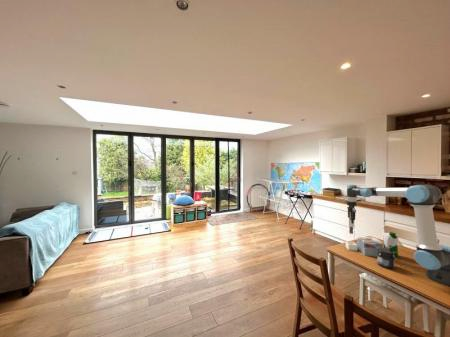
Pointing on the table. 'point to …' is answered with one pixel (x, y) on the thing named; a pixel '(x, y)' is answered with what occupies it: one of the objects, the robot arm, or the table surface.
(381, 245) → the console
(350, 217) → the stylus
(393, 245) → the milk carton
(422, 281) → the table surface
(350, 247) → the holder
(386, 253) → the supplement container
